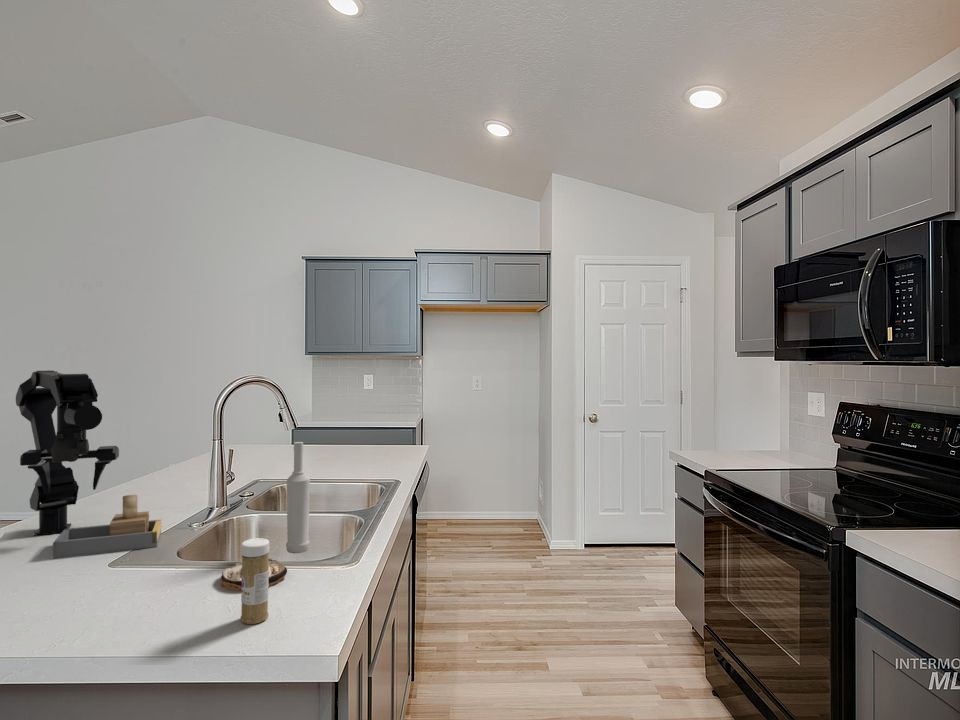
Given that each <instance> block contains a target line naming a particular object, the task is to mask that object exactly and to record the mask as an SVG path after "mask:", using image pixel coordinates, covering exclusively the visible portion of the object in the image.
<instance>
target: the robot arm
mask: <svg viewBox="0 0 960 720" xmlns="http://www.w3.org/2000/svg"><path fill="white" fill-rule="evenodd" d="M15 394H16V395H15V404H16V407H18V408H19V412H20V415H21V416H22V417H23V418H24V419H26V420H27V421H29V422H30V426H31V432H32V436H33V441H34V446H35V449H29V450H27V451H24V452H23V453H22V454H21V455H20V458H19V459H20V460H19V461H20V462H19V463H20V464H19V465H20V466H27V469H28V470H29V469H31V470H33V471H34V472H36V474H37V475H38V477H37V478H36V481H35V483H34V488H33V491H32V493H31V496H30V498H29V506H30V507H29V508H30V509H32V510H33V511H35V512H38V521H39V522H38V529H36V531H34V536H40V535H49V534H61V533H62V532H63V531H64V529H68V528H71V527H72V523H68V506H72V505H73V506H74V505H76V504H77V501H78V493H79V488H80V486H79V484H78V482H77V481H76V479H75V477H74V471H73V469H72V468H71V466H70V467H69V466H68V467H66V466H64V465H63V462H70V463H72V462H76V461H77V460H78V459H79V460H81V459H94V458H95V459H96V461H95V462H94V472H93V473H94V474H93V480H92V489H93V490H94V491H96V489H97V487H98V485H99V482H100V478H101V477H102V474H103V471H104V469H105V467H106V465H109V464H111V463H112V462H113V461H116V460H117V459H118V458H119V457H120V449H119V447H118V446H117V445H107V446H106V445H104V446H99V447H98V448H97V449H93V450H91V449H90V444H89V439H88V438H87V431H90V430H93V429H96V428H97V427H98V426H99V425H100V424H101V422H102V420H103V413H102V411H101V410H100V409H99V408H98V407H97V406H96V405H93V403H97V402H98V397H99V395H98V391H97V390H96V386H95V384H94V382H93V380H92V378H91V377H90V376H89V375H88V374H87V373H61V372H58V371H55V370H36V371H33V372H32V374H31V376H30V377H29V378H28V379H27V380H24V382H22V383H21V384H20V385H19V386H18V389H17V391H16V393H15ZM55 410H56V429H55V423H54V420H53V413H54V411H55Z"/></svg>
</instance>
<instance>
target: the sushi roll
mask: <svg viewBox="0 0 960 720" xmlns="http://www.w3.org/2000/svg"><path fill="white" fill-rule="evenodd" d="M268 569H269V582H268V588H270V587H274V586H277V585H278V584H279V583H281V582H283V581H285V577H286V575H287V573H288V568H287V567H286V566H285V564H283V563H282V562H280V561H278V560H276V559H272V558H269V557H268ZM220 580H221V587H223V588H226V589H230V590H233V591H242V561H239V562H236V563H234V565H232V566H227V567H224V570H223V571H222V572H221V576H220Z"/></svg>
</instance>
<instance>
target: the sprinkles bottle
mask: <svg viewBox="0 0 960 720" xmlns="http://www.w3.org/2000/svg"><path fill="white" fill-rule="evenodd" d="M269 552H270V540H269V539H266V538H263V537H257V538H250V539H246V540H244V541H243V542H242V543H241V545H240V554H241V559H242V561H241V562H242V590H241V597H240V598H241V601H240V602H241V615H240V622H241V623H243V624H245V625H256V624H258V623H262V622H264V621H266V620H267V619H268V617H269V612H268V608H269V587H268V582H269V569H268V558H269Z"/></svg>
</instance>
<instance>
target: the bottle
mask: <svg viewBox="0 0 960 720" xmlns="http://www.w3.org/2000/svg"><path fill="white" fill-rule="evenodd" d="M293 459H294V460H293V470H292V473H291V474H290V476H288V478H286V513H287V514H286V518H287V519H286V520H287V521H286V525H287V527H286V530H287V532H286V534H287V537H286V539H287V541H286V544H285V545H286V546H285V547H286V551H287V552H288V553H289V554H302V553H305V552H307V551H309V548H310V540H309V527H310V526H309V525H310V524H309V523H310V489H311V487H310V486H311V485H310V484H311V478H310V477H309V476H308V475H307V474H306V473H305V471H304V441H295V442H293Z"/></svg>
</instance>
